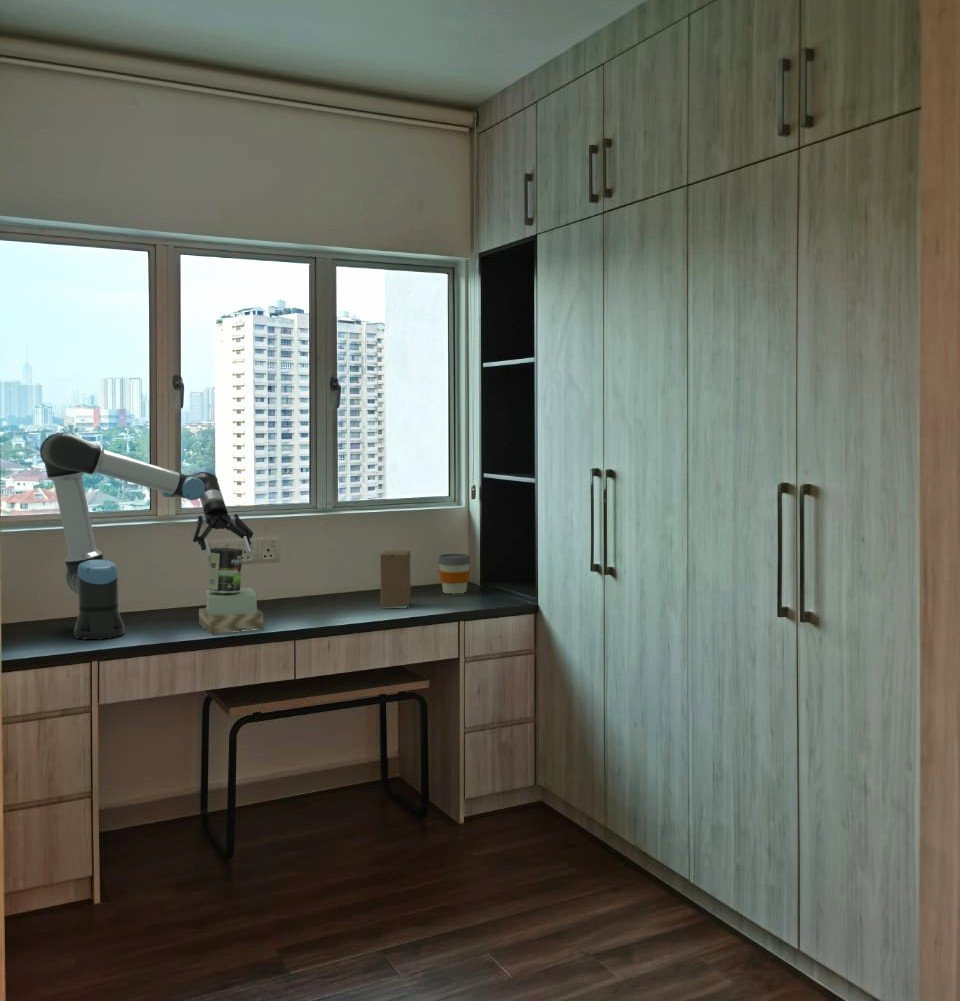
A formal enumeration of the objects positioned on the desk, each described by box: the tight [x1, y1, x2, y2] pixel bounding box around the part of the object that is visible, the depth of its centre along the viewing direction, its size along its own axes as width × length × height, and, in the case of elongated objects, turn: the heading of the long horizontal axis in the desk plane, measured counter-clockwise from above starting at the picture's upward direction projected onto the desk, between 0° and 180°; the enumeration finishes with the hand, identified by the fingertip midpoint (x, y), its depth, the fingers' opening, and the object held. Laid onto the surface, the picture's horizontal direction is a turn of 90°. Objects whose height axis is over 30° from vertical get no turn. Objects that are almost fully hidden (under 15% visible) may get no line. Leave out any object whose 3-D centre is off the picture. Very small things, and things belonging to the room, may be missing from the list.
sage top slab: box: [205, 587, 258, 616], centre depth 335 cm, size 15×15×6 cm
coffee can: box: [208, 547, 243, 593], centre depth 334 cm, size 10×10×14 cm
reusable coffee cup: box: [438, 553, 472, 594], centre depth 397 cm, size 13×13×15 cm
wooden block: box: [379, 550, 411, 608], centre depth 371 cm, size 10×10×20 cm
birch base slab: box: [198, 607, 264, 635], centre depth 335 cm, size 17×17×6 cm
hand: (229, 555), depth 336 cm, fingers open, 13 cm apart
